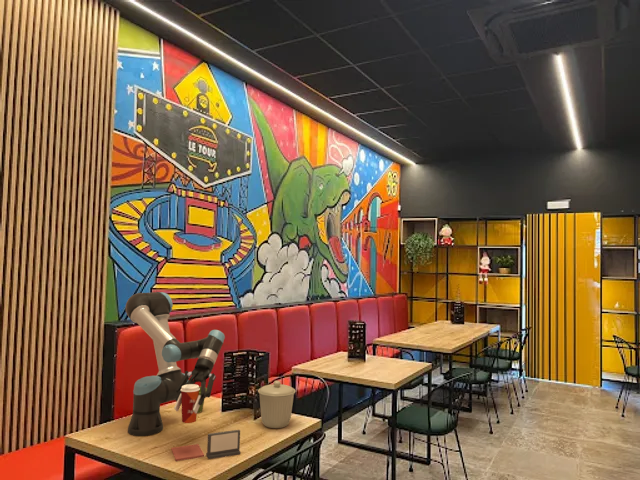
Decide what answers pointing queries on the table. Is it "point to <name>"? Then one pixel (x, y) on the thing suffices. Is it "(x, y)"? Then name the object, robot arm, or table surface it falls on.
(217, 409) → the table surface
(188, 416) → the paper cup
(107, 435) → the table surface
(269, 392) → the canister
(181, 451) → the coaster
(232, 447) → the menu holder
